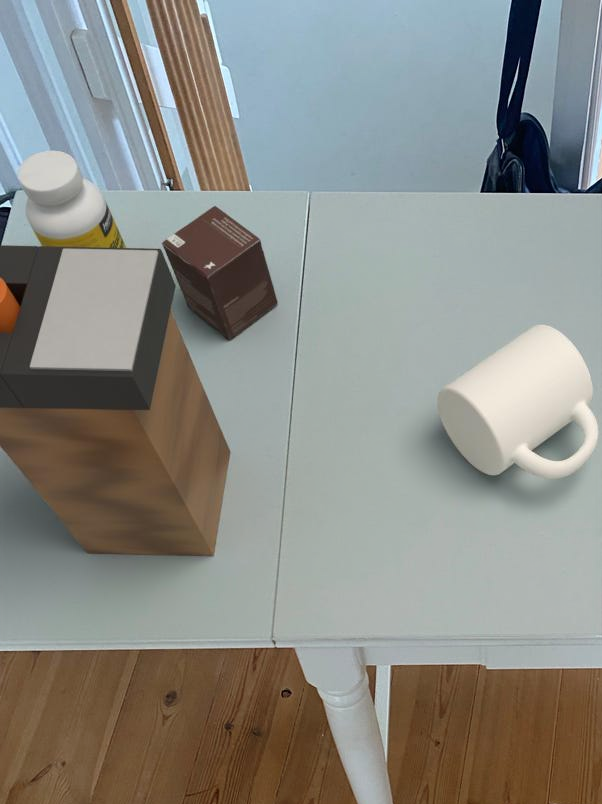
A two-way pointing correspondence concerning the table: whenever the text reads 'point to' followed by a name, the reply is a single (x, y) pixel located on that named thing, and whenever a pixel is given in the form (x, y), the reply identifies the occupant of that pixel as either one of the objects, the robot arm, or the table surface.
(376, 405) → the table surface
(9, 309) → the button
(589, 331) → the table surface
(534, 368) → the mug
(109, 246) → the pill bottle
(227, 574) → the table surface
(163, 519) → the block
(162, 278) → the scale
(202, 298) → the box
